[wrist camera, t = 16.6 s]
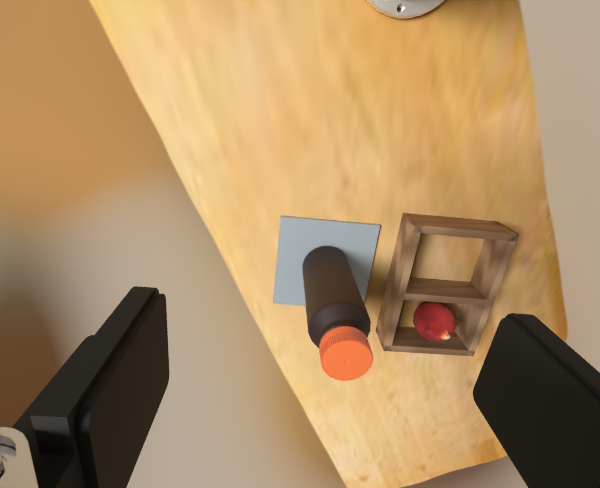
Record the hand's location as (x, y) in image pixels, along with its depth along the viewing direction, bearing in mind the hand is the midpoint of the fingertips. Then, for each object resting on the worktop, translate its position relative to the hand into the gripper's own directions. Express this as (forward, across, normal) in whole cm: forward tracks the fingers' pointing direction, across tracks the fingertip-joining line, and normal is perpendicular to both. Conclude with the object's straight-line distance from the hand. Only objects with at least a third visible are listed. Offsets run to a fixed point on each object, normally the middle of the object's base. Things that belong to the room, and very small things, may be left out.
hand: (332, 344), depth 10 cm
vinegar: (+38, -6, +16) cm, 42 cm away
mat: (+38, -6, +16) cm, 42 cm away
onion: (+38, -23, +22) cm, 50 cm away
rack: (+38, -23, +17) cm, 48 cm away
